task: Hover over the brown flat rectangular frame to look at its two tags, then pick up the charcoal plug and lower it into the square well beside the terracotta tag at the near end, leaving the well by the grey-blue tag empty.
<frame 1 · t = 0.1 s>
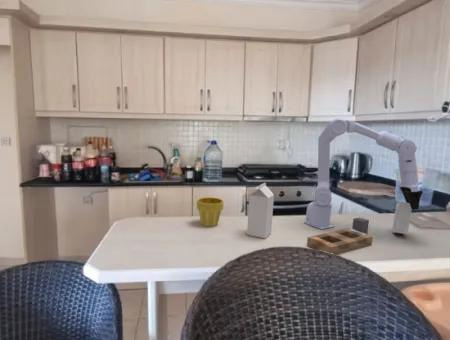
hand: (412, 206, 121), 12 cm above the table, tool pointing down, fingers open, 7 cm apart
brown flat rectangular frame: (339, 245, 111), on the table
plug: (359, 234, 124), on the table
milk carton: (259, 234, 118), on the table
skincare box: (399, 233, 124), point 1 cm above the table, touching gripper
plant pot: (209, 224, 127), on the table
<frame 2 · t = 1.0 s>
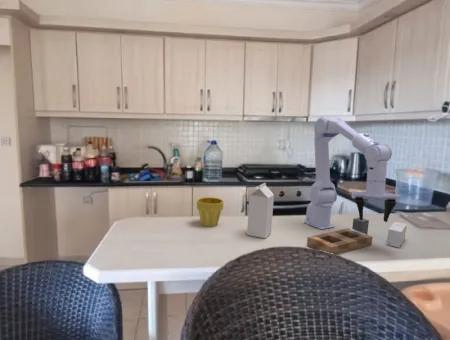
hand: (373, 220, 109), 10 cm above the table, tool pointing down, fingers open, 7 cm apart
skincare box: (399, 229, 121), point 3 cm above the table
everything else where it was.
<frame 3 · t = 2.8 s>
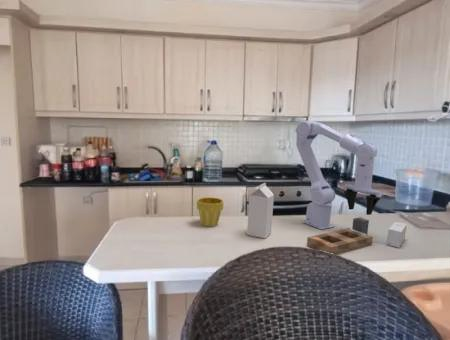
hand: (359, 211, 121), 9 cm above the table, tool pointing down, fingers open, 7 cm apart
nothing on the table moved.
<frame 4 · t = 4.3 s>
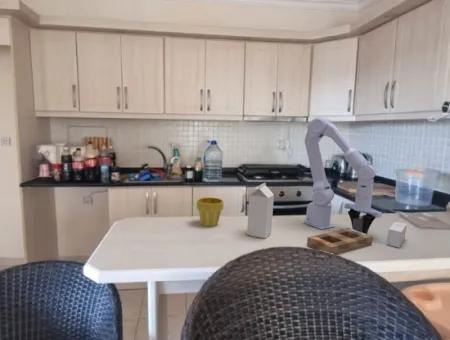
hand: (359, 230, 123), 1 cm above the table, tool pointing down, fingers closed on plug, 4 cm apart
plug: (359, 234, 124), on the table, touching gripper
everything else where it was.
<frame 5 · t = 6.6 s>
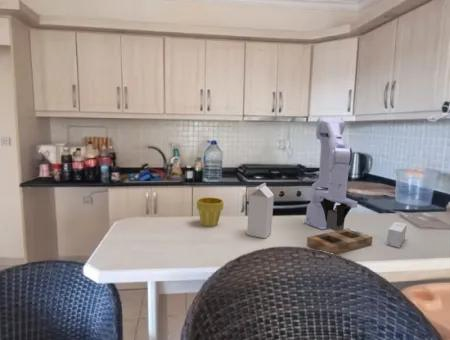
hand: (333, 223, 108), 8 cm above the table, tool pointing down, fingers closed on plug, 4 cm apart
plug: (334, 228, 108), point 7 cm above the table, touching gripper
everything else where it was.
when the fingers open (4 cm above the table, at t = 8.7 s): plug drops 2 cm, resting in brown flat rectangular frame.
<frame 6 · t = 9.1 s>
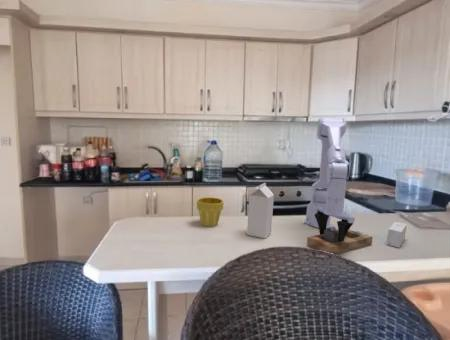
hand: (331, 237, 108), 4 cm above the table, tool pointing down, fingers open, 7 cm apart
plug: (331, 247, 109), resting in brown flat rectangular frame
everything else where it was.
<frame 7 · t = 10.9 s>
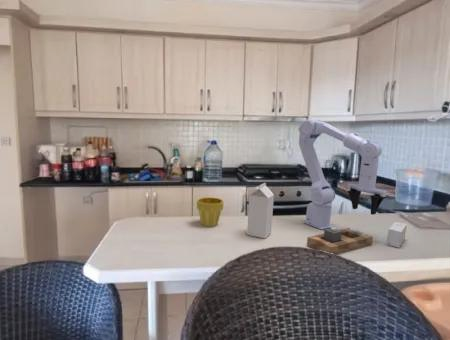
hand: (363, 211, 119), 10 cm above the table, tool pointing down, fingers open, 7 cm apart
nothing on the table moved.
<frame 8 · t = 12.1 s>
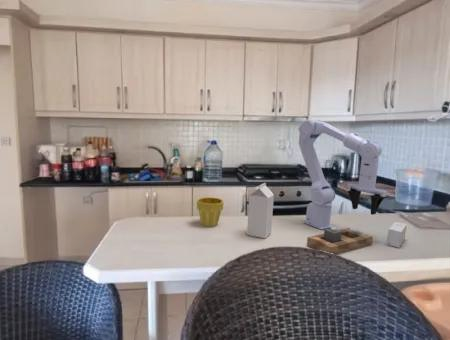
hand: (363, 211, 119), 10 cm above the table, tool pointing down, fingers open, 7 cm apart
nothing on the table moved.
at the end: plug 0.6 cm from the target spot on the brown flat rectangular frame, point 0.0 cm above the brown flat rectangular frame's base; plug tilted 0°; the gripper is holding nothing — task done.
